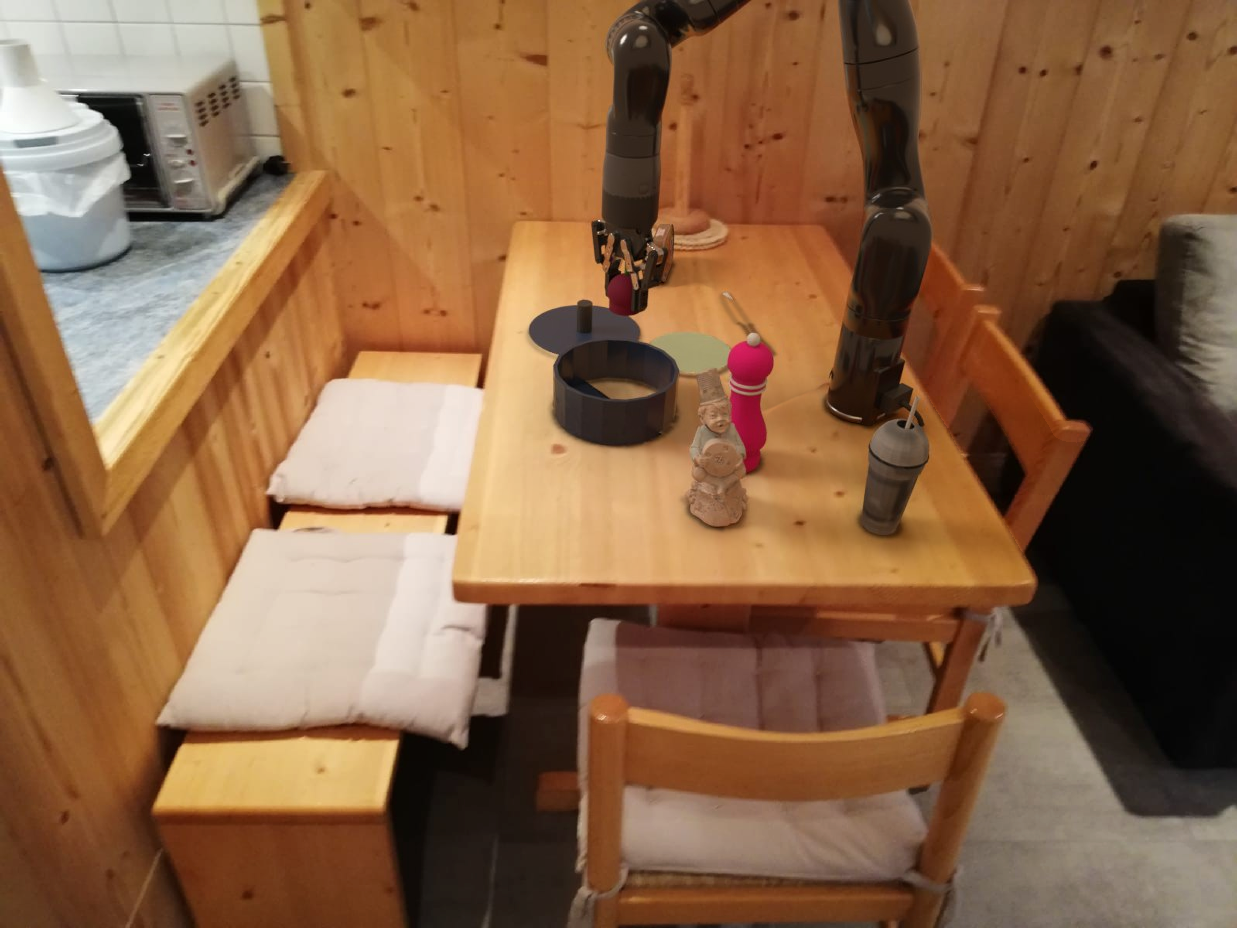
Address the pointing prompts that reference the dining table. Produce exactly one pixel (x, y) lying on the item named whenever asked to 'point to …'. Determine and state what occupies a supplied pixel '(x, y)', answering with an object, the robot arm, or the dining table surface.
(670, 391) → the pan
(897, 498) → the beverage cup
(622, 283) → the beet
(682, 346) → the plate
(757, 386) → the pepper mill
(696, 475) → the figurine
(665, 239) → the tin
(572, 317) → the pan lid
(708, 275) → the dining table surface
